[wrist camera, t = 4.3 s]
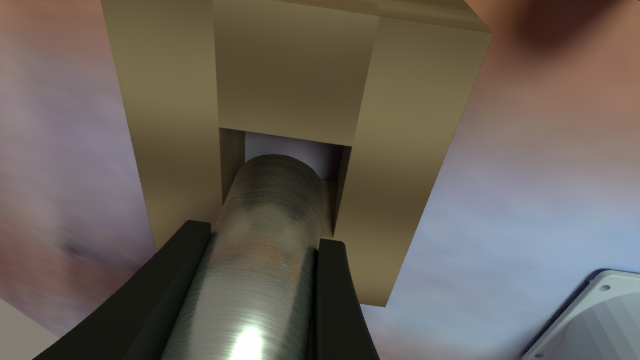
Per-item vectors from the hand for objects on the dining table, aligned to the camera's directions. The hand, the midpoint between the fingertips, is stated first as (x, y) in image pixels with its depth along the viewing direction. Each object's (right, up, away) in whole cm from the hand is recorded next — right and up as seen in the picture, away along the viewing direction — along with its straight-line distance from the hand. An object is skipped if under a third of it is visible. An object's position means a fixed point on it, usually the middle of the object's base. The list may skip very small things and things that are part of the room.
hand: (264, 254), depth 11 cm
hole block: (0, +4, +5) cm, 6 cm away
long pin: (0, +2, +2) cm, 3 cm away
